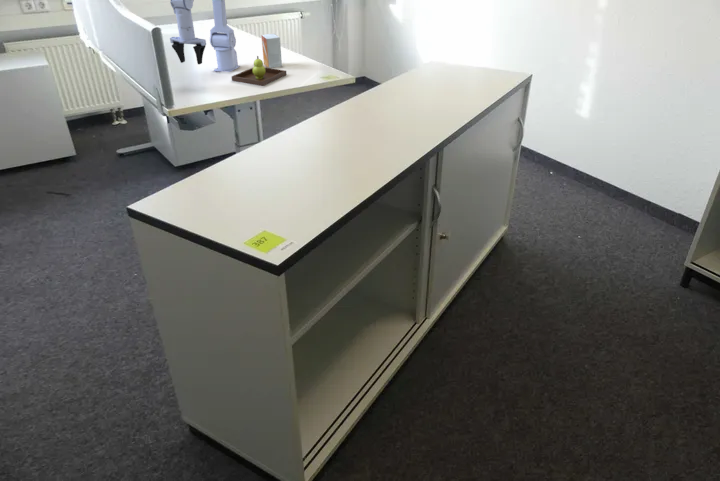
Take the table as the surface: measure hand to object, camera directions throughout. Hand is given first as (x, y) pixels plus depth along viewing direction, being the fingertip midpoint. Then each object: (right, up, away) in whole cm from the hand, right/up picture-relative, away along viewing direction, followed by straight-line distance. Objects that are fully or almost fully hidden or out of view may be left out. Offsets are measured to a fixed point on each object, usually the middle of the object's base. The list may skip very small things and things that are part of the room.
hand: (191, 62), depth 218 cm
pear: (+24, -1, +16) cm, 29 cm away
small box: (+27, +9, +33) cm, 44 cm away
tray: (+24, -2, +16) cm, 29 cm away
